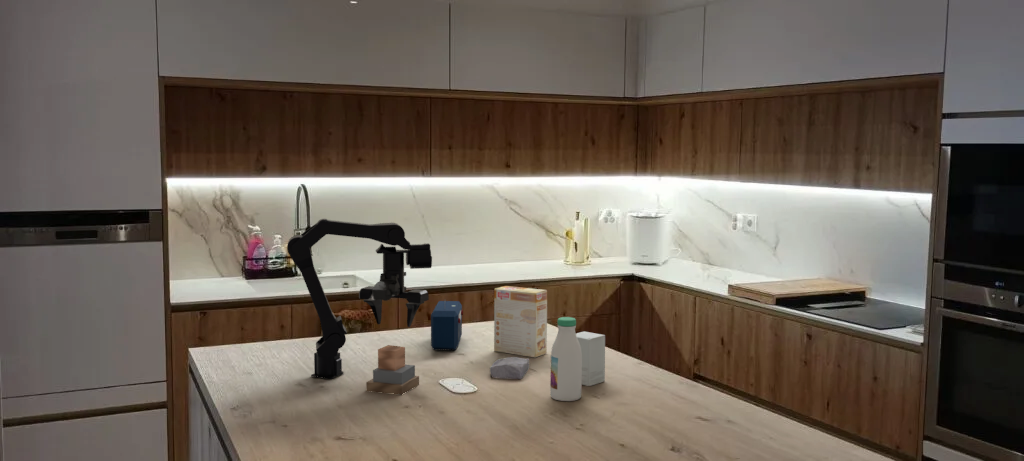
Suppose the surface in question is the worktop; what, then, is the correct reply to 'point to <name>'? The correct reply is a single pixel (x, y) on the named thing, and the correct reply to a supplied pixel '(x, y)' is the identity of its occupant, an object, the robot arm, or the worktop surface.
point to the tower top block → (394, 375)
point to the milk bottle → (566, 362)
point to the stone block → (509, 368)
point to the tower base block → (392, 386)
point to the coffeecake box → (520, 321)
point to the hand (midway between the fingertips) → (393, 325)
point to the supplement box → (592, 357)
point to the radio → (446, 325)
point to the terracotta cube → (391, 357)
